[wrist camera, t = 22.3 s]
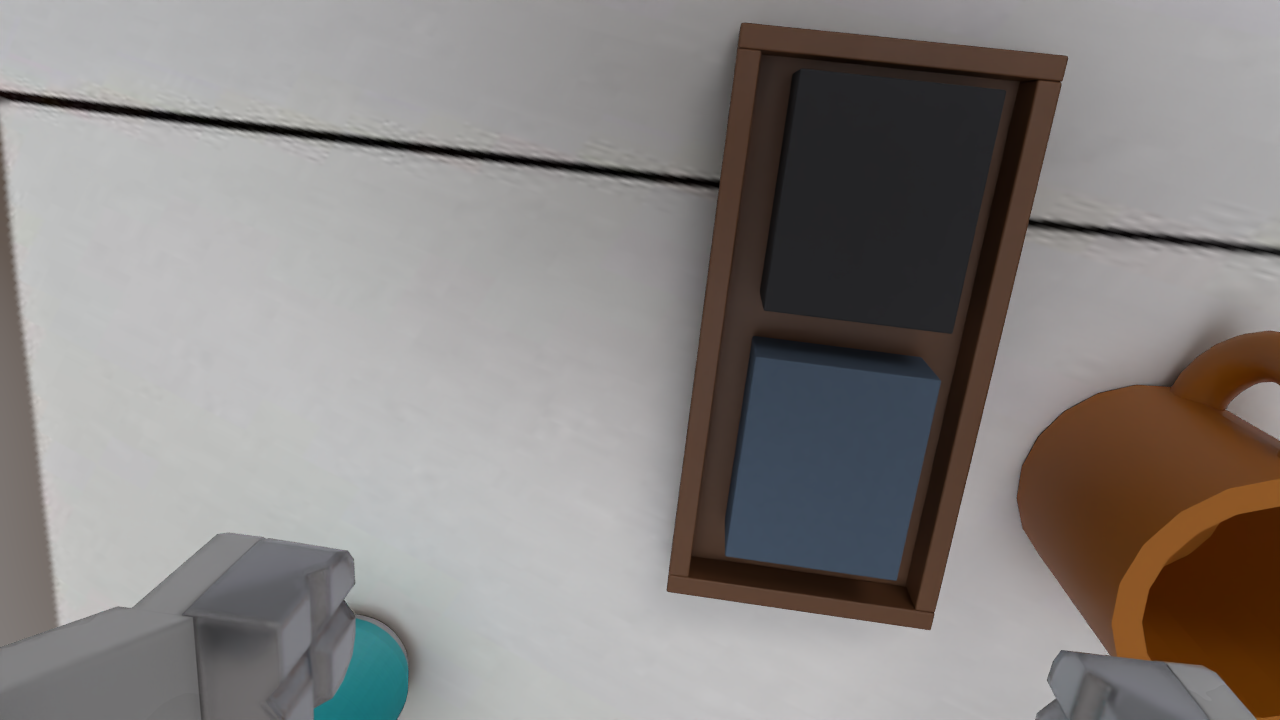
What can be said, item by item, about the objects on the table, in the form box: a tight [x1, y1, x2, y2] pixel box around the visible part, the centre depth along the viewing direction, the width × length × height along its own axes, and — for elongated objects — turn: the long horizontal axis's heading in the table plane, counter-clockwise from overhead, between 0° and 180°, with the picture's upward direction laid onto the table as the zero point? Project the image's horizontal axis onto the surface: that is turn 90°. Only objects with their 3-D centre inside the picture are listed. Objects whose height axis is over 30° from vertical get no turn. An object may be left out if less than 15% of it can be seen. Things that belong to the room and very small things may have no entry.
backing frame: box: [667, 23, 1068, 630], centre depth 31 cm, size 22×11×2 cm, turn 174°
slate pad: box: [725, 336, 941, 581], centre depth 32 cm, size 8×6×3 cm
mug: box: [1017, 331, 1280, 720], centre depth 28 cm, size 9×12×9 cm
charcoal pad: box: [760, 68, 1006, 334], centre depth 29 cm, size 8×6×3 cm
